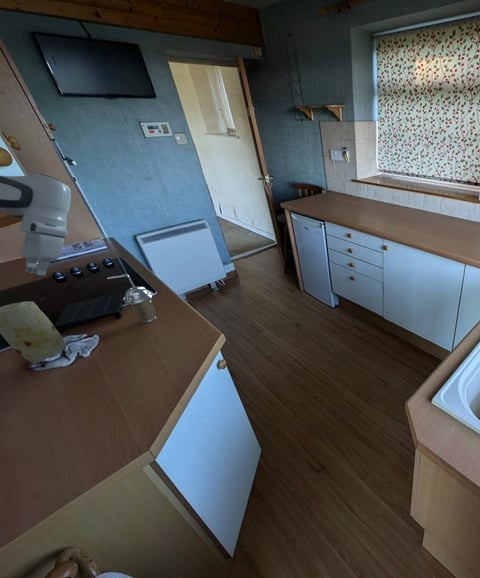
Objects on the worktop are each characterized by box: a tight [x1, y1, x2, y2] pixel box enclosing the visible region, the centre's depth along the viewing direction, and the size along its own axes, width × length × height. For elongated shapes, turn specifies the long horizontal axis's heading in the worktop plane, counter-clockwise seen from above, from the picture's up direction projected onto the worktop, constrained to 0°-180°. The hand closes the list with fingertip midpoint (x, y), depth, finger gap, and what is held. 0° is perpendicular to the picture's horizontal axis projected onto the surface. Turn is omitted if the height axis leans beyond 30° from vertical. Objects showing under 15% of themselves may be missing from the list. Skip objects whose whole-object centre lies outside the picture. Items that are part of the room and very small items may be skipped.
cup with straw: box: [106, 274, 158, 324], centre depth 105 cm, size 8×9×20 cm
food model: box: [0, 301, 68, 364], centre depth 87 cm, size 10×7×20 cm
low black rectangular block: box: [53, 291, 126, 334], centre depth 112 cm, size 18×16×3 cm
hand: (35, 274), depth 88 cm, fingers open, 8 cm apart
